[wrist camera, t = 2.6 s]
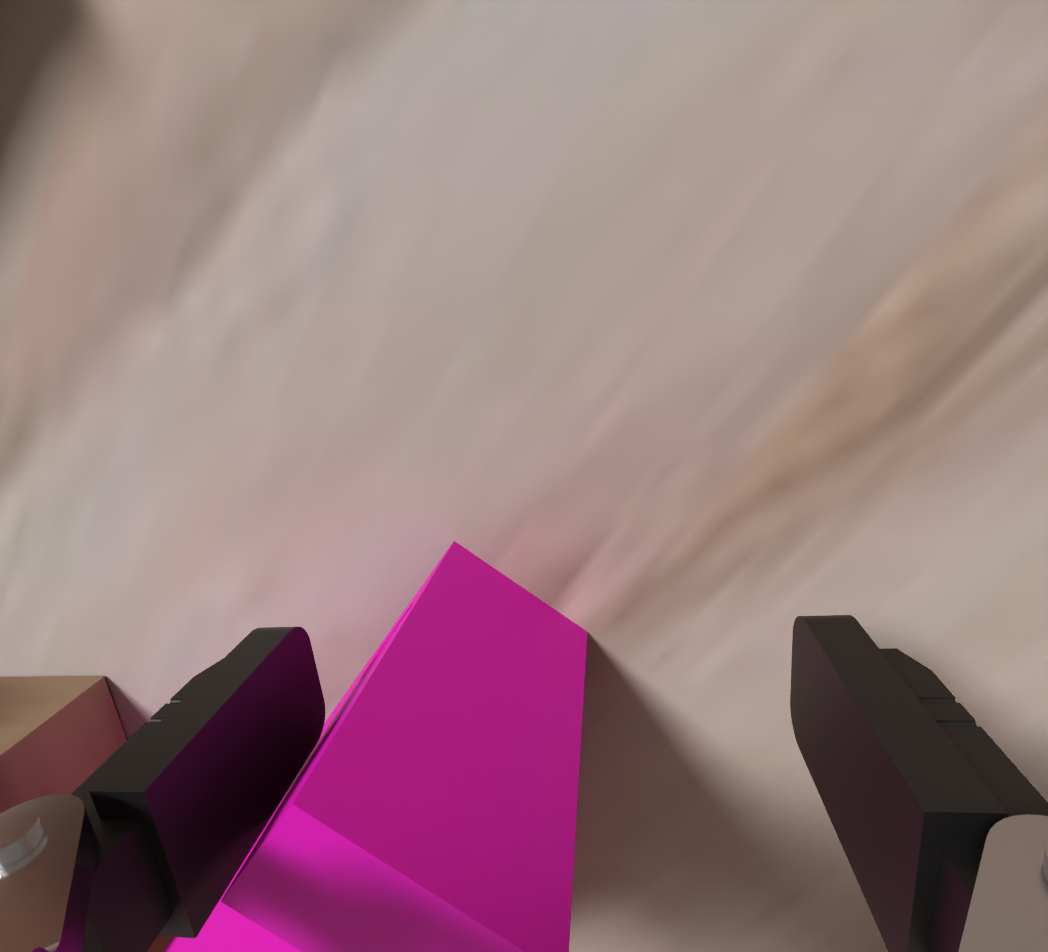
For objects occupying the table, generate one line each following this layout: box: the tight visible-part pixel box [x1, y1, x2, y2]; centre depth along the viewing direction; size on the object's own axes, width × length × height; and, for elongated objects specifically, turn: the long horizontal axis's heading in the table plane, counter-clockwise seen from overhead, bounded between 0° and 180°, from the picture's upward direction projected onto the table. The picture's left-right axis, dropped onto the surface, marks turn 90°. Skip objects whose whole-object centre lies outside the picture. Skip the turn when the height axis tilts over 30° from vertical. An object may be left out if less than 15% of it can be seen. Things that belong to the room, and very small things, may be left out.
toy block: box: [164, 541, 587, 952], centre depth 13 cm, size 15×6×8 cm, turn 146°
